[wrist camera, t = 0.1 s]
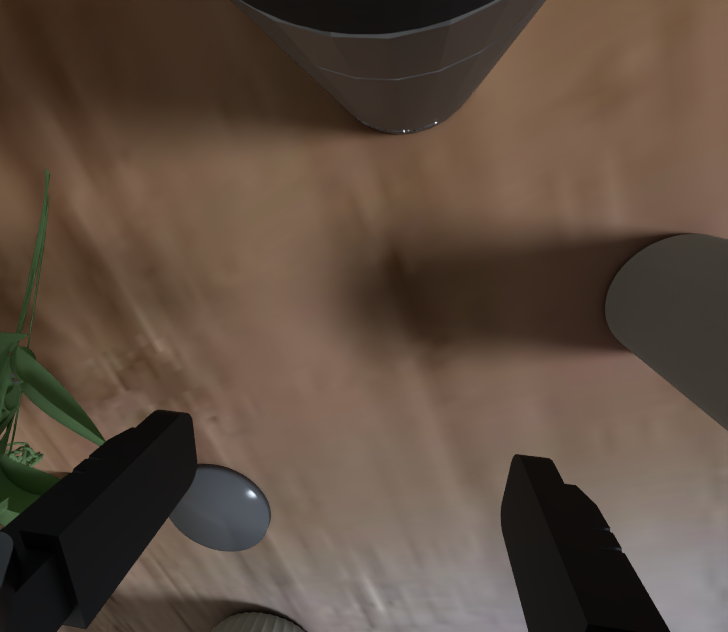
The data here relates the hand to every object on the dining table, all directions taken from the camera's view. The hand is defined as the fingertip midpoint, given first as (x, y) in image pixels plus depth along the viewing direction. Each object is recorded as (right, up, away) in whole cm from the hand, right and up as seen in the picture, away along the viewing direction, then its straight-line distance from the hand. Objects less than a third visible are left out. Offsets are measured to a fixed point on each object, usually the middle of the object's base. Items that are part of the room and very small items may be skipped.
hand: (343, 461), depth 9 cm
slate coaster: (-13, -14, +26) cm, 32 cm away
